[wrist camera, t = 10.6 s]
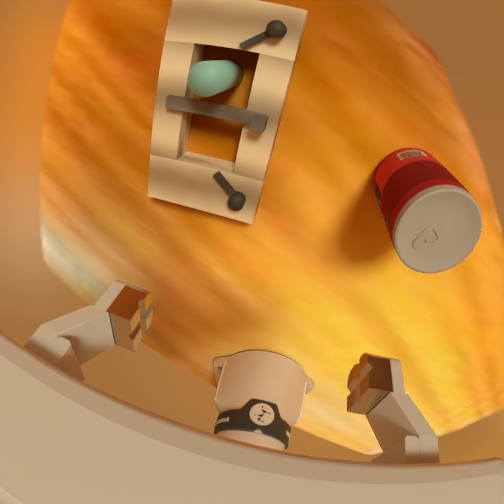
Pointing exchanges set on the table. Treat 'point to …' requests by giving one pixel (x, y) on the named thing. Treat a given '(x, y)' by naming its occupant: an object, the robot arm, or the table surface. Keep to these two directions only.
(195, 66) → the pale green rounded block
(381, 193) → the canned food
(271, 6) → the shelf
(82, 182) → the table surface
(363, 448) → the table surface
